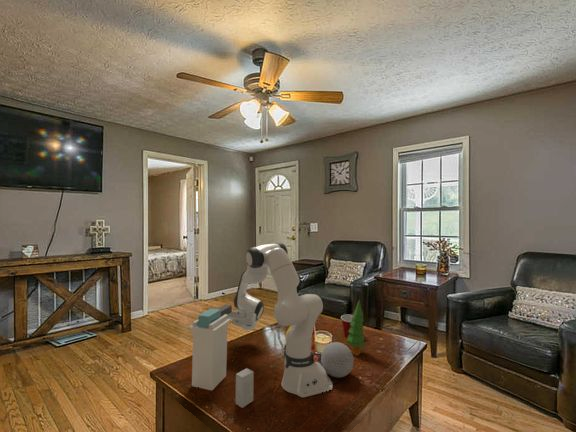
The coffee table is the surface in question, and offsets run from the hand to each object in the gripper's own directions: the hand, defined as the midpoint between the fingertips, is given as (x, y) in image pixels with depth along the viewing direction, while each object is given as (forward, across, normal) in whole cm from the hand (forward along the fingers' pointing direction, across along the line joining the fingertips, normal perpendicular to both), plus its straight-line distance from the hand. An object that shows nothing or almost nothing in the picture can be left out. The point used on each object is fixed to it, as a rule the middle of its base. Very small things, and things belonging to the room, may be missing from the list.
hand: (230, 312), depth 149 cm
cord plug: (+12, 0, +6) cm, 14 cm away
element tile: (-50, +25, +1) cm, 56 cm away
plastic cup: (-60, +54, -5) cm, 81 cm away
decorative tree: (-42, +59, +6) cm, 73 cm away
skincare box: (+10, +21, +35) cm, 42 cm away
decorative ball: (-18, +53, +19) cm, 59 cm away
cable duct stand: (+2, 0, +31) cm, 31 cm away
